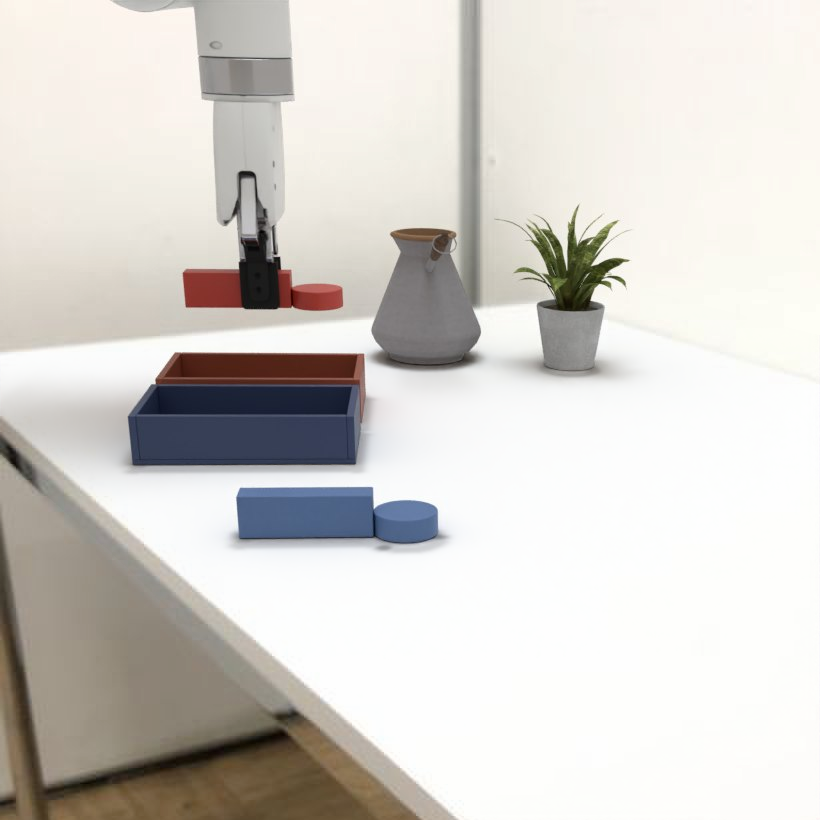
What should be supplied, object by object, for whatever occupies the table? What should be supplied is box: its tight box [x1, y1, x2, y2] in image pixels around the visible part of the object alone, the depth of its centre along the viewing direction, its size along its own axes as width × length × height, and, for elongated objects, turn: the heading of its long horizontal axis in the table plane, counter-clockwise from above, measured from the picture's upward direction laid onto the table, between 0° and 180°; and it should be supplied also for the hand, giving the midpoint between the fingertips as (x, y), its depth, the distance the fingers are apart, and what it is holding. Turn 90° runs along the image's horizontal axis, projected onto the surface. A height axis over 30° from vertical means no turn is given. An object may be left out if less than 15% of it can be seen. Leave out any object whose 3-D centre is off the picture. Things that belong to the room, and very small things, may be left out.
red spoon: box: [182, 268, 344, 312], centre depth 119 cm, size 13×4×3 cm, turn 97°
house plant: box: [495, 203, 634, 371], centre depth 139 cm, size 14×14×16 cm
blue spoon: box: [235, 486, 439, 544], centre depth 93 cm, size 13×4×3 cm, turn 97°
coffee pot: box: [370, 227, 482, 365], centre depth 136 cm, size 21×12×15 cm, turn 14°
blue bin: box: [127, 383, 362, 466], centre depth 111 cm, size 17×10×4 cm, turn 97°
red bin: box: [154, 351, 367, 424], centre depth 122 cm, size 17×10×4 cm, turn 97°
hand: (262, 304), depth 119 cm, fingers closed on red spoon, 2 cm apart
